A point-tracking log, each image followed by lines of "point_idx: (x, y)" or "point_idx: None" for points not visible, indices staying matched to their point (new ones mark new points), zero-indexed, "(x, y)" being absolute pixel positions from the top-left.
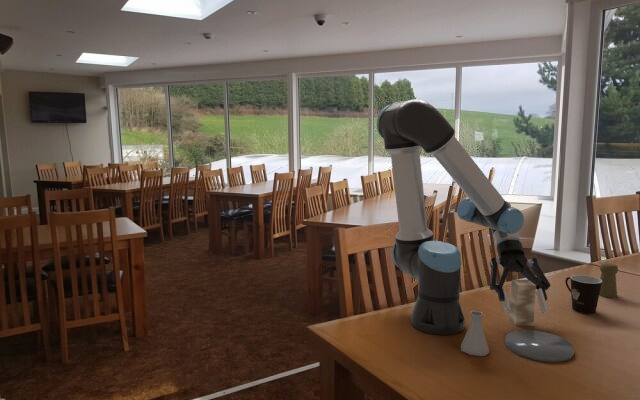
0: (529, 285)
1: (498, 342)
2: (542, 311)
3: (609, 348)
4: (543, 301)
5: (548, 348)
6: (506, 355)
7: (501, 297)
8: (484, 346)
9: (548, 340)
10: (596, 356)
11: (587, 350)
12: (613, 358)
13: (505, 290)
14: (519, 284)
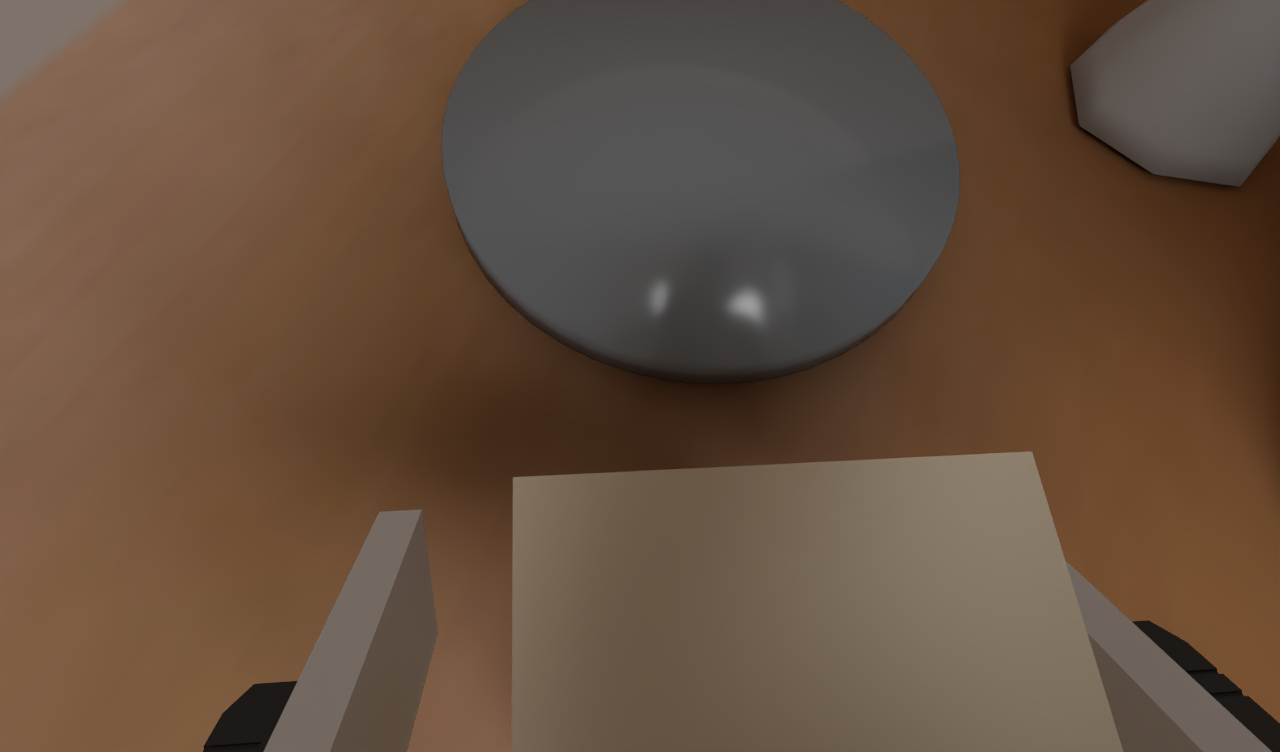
0: (706, 472)
1: (995, 222)
2: (431, 612)
3: (126, 164)
4: (379, 595)
5: (663, 57)
6: (956, 55)
7: (1166, 643)
8: (1140, 8)
9: (605, 172)
10: (333, 58)
11: (337, 130)
12: (229, 38)
13: (1191, 719)
14: (990, 511)
